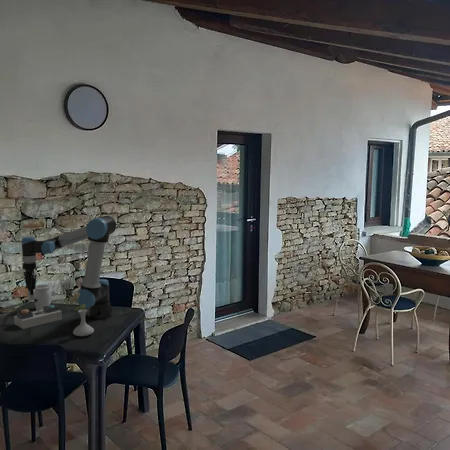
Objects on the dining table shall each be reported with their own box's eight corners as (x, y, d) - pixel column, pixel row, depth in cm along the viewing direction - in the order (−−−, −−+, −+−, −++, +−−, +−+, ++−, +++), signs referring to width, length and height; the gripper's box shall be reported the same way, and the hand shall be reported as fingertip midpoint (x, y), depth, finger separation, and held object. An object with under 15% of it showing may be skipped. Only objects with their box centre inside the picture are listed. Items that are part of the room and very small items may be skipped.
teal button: (55, 309, 290) (55, 306, 290) (49, 311, 287) (48, 307, 287) (52, 307, 293) (52, 304, 293) (45, 309, 290) (45, 306, 290)
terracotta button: (30, 313, 279) (30, 310, 279) (22, 315, 276) (22, 312, 275) (26, 311, 282) (26, 308, 282) (19, 313, 279) (19, 310, 278)
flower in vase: (86, 329, 272) (84, 287, 269) (98, 333, 265) (96, 290, 262) (66, 335, 262) (64, 292, 259) (78, 340, 255) (76, 295, 252)
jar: (46, 311, 305) (44, 288, 303) (31, 310, 307) (30, 288, 305) (55, 306, 315) (54, 284, 313) (41, 305, 317) (40, 283, 315)
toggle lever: (40, 310, 285) (37, 297, 286) (37, 311, 283) (34, 298, 284) (39, 311, 286) (36, 298, 287) (35, 312, 285) (32, 299, 285)
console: (62, 319, 290) (61, 307, 289) (23, 329, 273) (22, 316, 272) (52, 314, 298) (52, 303, 297) (14, 324, 281) (13, 312, 280)
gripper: (18, 261, 288) (20, 298, 291) (28, 264, 279) (29, 303, 282) (30, 259, 293) (32, 296, 296) (40, 262, 284) (42, 300, 288)
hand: (31, 299), depth 289 cm, fingers closed
